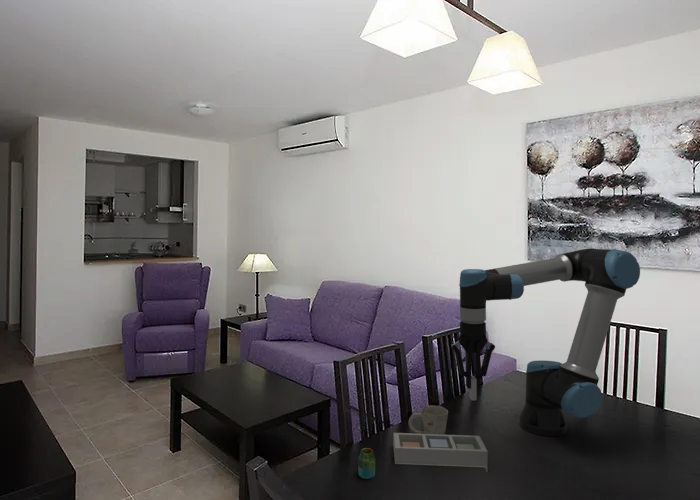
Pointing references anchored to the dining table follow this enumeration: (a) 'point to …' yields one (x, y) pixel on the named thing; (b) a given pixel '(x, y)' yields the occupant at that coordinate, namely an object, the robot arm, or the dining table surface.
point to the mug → (431, 420)
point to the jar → (366, 464)
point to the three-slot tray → (440, 451)
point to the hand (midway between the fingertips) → (472, 398)
